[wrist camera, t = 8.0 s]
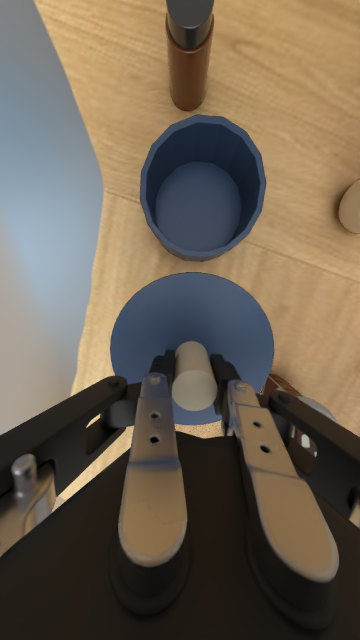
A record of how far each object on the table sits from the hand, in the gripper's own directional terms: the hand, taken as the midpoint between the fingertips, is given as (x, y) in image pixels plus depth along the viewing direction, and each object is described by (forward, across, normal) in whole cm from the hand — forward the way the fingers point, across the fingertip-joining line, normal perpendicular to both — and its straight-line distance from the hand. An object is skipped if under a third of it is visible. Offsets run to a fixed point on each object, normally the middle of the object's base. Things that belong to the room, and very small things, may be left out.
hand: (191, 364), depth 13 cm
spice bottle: (+15, +2, -28) cm, 31 cm away
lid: (+2, 0, 0) cm, 2 cm away
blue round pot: (+15, 0, -14) cm, 21 cm away
